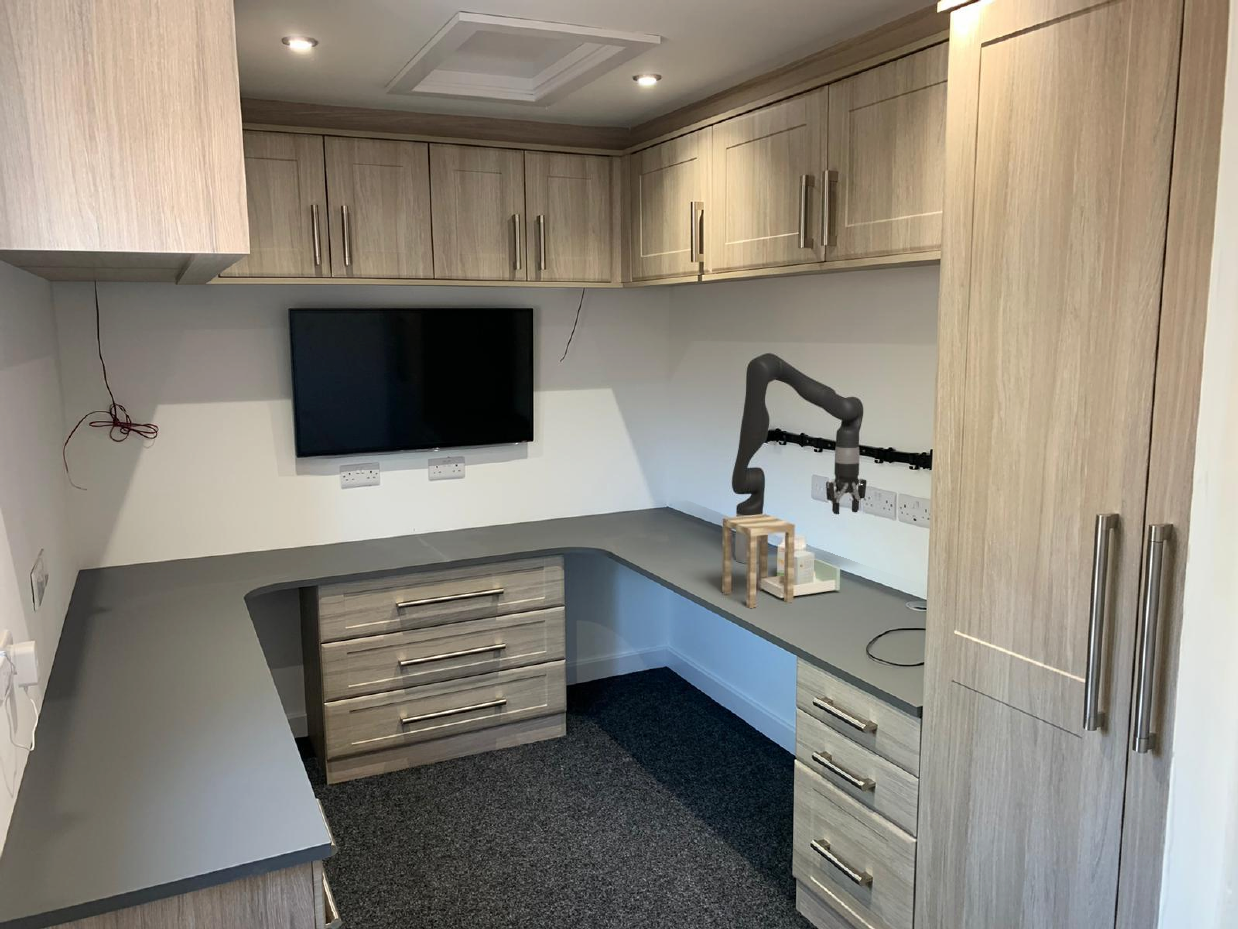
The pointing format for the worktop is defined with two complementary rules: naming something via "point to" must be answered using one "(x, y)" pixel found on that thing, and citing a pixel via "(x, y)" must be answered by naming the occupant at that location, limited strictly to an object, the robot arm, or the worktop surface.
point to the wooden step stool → (753, 528)
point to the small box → (803, 567)
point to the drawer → (823, 581)
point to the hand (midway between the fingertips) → (845, 512)
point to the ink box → (781, 551)
